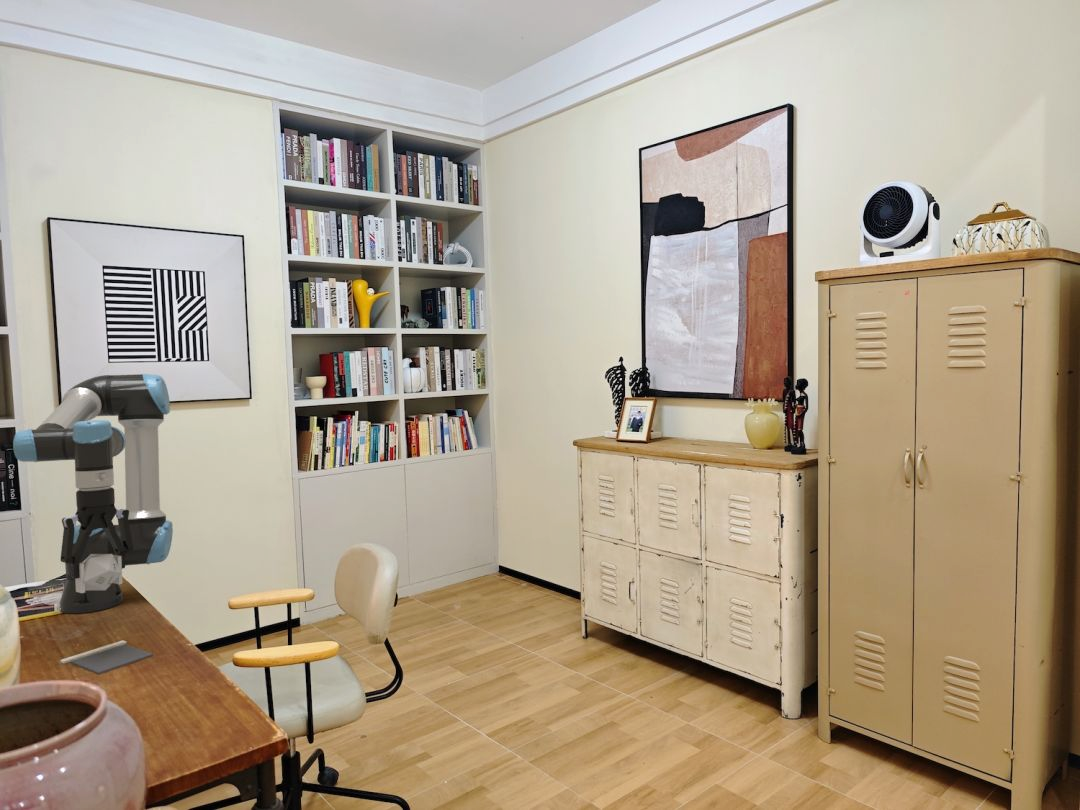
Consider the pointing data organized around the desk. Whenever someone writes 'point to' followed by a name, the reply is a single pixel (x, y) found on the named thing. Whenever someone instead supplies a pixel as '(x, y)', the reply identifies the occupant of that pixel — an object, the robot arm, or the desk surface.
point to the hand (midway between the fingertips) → (99, 587)
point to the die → (100, 571)
